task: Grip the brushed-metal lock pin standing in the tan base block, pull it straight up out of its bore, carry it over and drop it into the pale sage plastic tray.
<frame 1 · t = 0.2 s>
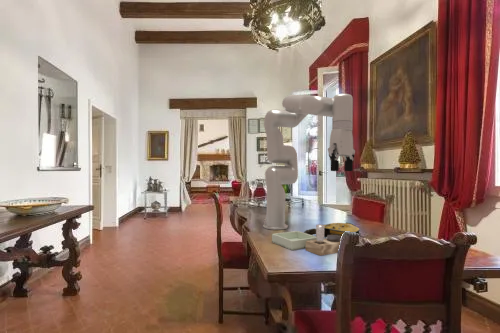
hand: (341, 171, 122), 30 cm above the table, tool pointing down, fingers open, 9 cm apart
tan base block: (326, 250, 120), on the table
lock pin: (319, 251, 118), resting in tan base block
tray: (294, 244, 129), on the table
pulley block: (332, 236, 146), on the table
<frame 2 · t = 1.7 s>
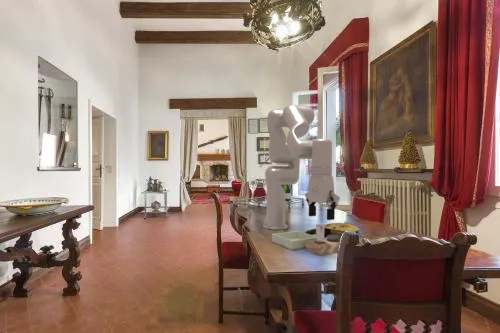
hand: (321, 217, 118), 13 cm above the table, tool pointing down, fingers open, 9 cm apart
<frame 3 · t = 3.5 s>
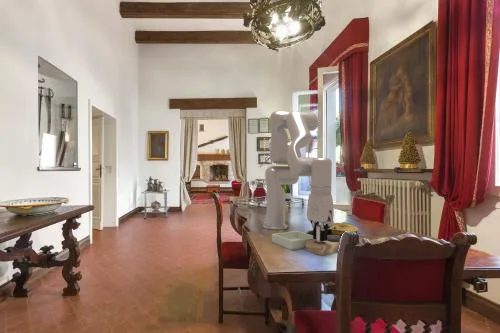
hand: (320, 239, 118), 5 cm above the table, tool pointing down, fingers closed on lock pin, 3 cm apart
lock pin: (319, 251, 118), resting in tan base block, touching gripper
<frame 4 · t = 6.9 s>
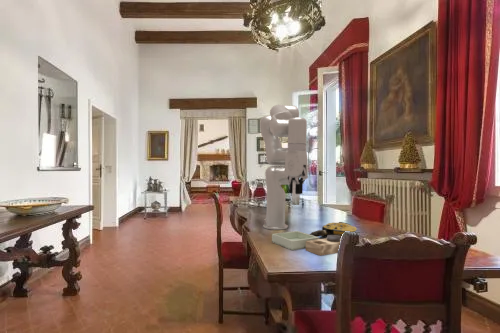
hand: (296, 193, 128), 21 cm above the table, tool pointing down, fingers closed on lock pin, 3 cm apart
lock pin: (295, 204, 128), point 16 cm above the table, touching gripper
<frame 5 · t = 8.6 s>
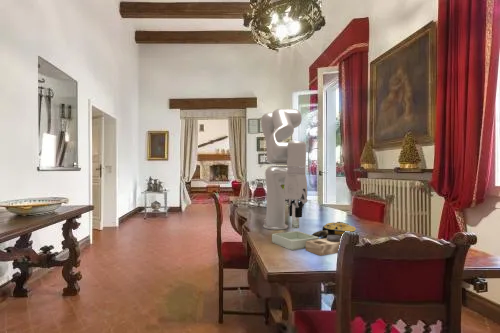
hand: (295, 216, 128), 12 cm above the table, tool pointing down, fingers closed on lock pin, 3 cm apart
lock pin: (295, 227, 128), point 7 cm above the table, touching gripper
when the fingers open (7 cm above the table, at t = 10.1 s): lock pin drops 2 cm, resting on tray.
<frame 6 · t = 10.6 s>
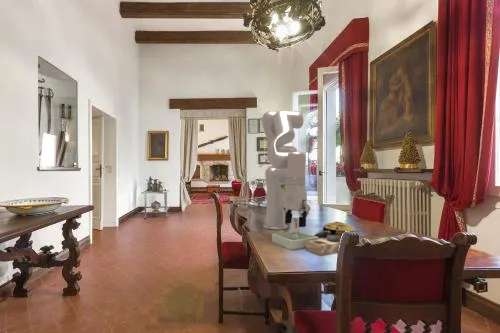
hand: (295, 224, 129), 8 cm above the table, tool pointing down, fingers open, 8 cm apart
lock pin: (294, 242, 129), point 1 cm above the table, touching tray
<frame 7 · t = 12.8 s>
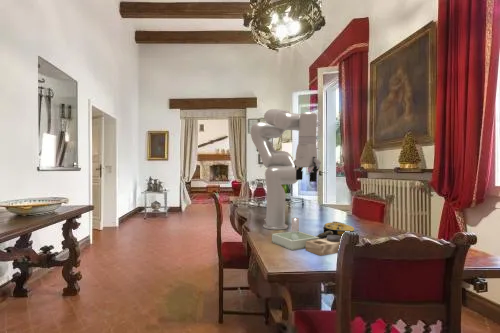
hand: (305, 180, 137), 26 cm above the table, tool pointing down, fingers open, 9 cm apart
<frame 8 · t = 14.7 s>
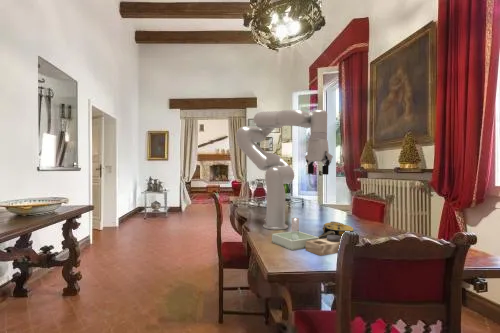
hand: (317, 174, 146), 28 cm above the table, tool pointing down, fingers open, 9 cm apart
at the end: lock pin inside the target area on the tray (0.1 cm from its centre), point 0.6 cm above the tray's base; the gripper is holding nothing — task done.
